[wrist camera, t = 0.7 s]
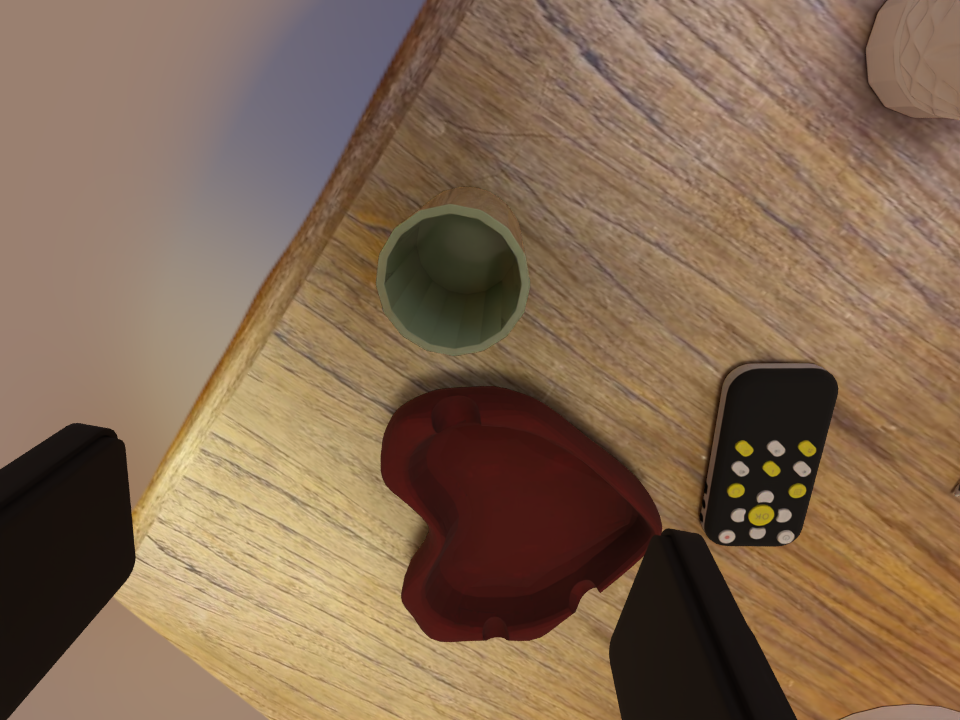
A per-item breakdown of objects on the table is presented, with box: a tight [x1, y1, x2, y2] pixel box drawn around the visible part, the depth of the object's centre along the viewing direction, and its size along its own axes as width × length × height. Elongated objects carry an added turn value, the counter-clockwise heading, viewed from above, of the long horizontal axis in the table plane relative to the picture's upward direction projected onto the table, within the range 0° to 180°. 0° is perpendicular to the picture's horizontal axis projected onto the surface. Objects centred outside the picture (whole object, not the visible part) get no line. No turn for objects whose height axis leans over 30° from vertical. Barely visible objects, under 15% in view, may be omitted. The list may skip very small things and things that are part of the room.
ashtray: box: [381, 386, 662, 642], centre depth 33 cm, size 18×16×5 cm
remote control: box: [700, 363, 838, 546], centre depth 33 cm, size 6×13×2 cm, turn 1°
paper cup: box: [376, 186, 530, 356], centre depth 25 cm, size 6×6×9 cm
